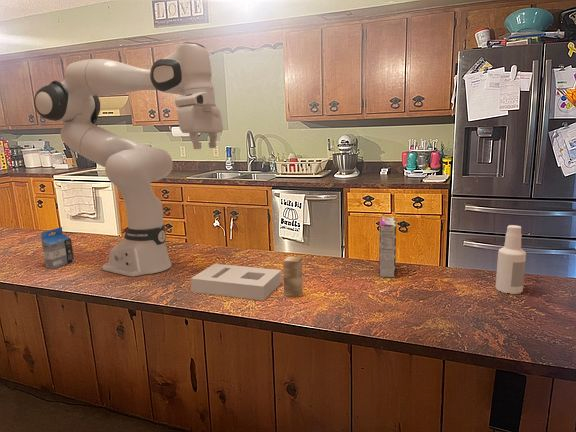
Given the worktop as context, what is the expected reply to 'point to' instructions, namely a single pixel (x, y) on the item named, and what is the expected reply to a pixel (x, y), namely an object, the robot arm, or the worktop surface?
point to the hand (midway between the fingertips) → (205, 148)
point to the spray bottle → (511, 263)
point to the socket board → (237, 281)
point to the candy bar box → (387, 247)
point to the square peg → (292, 276)
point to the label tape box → (56, 248)
